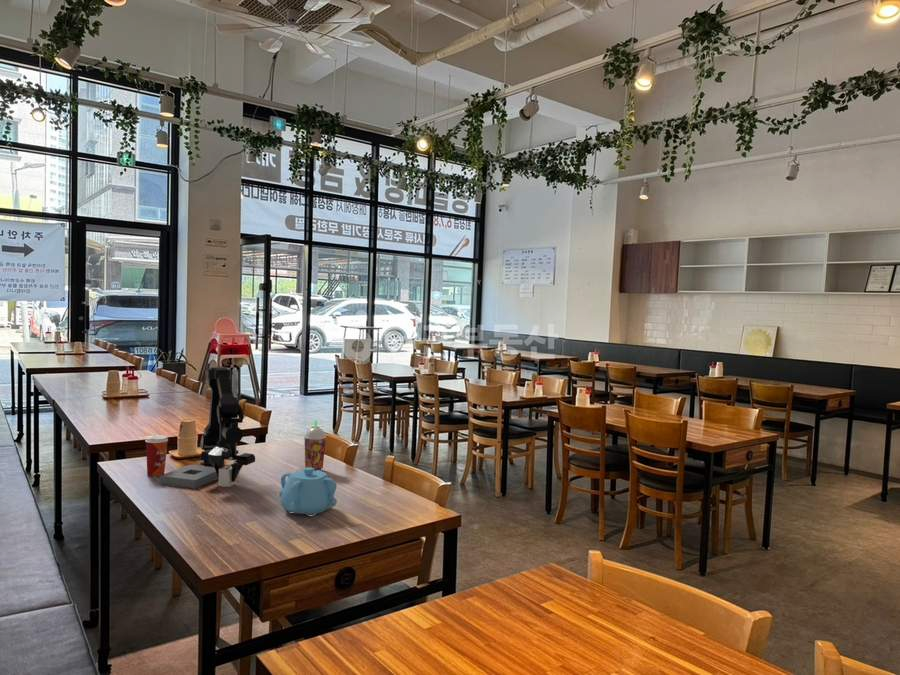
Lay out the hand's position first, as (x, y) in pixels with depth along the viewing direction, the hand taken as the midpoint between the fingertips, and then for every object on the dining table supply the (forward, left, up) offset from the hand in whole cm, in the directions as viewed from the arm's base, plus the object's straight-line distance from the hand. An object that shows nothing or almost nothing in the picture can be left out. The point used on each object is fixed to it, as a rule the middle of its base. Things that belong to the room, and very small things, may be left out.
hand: (226, 480), depth 215 cm
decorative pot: (+14, +38, -2) cm, 41 cm away
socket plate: (0, -14, -1) cm, 14 cm away
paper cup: (-1, -30, -2) cm, 30 cm away
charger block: (0, 0, -1) cm, 1 cm away
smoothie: (-28, +20, -2) cm, 34 cm away
